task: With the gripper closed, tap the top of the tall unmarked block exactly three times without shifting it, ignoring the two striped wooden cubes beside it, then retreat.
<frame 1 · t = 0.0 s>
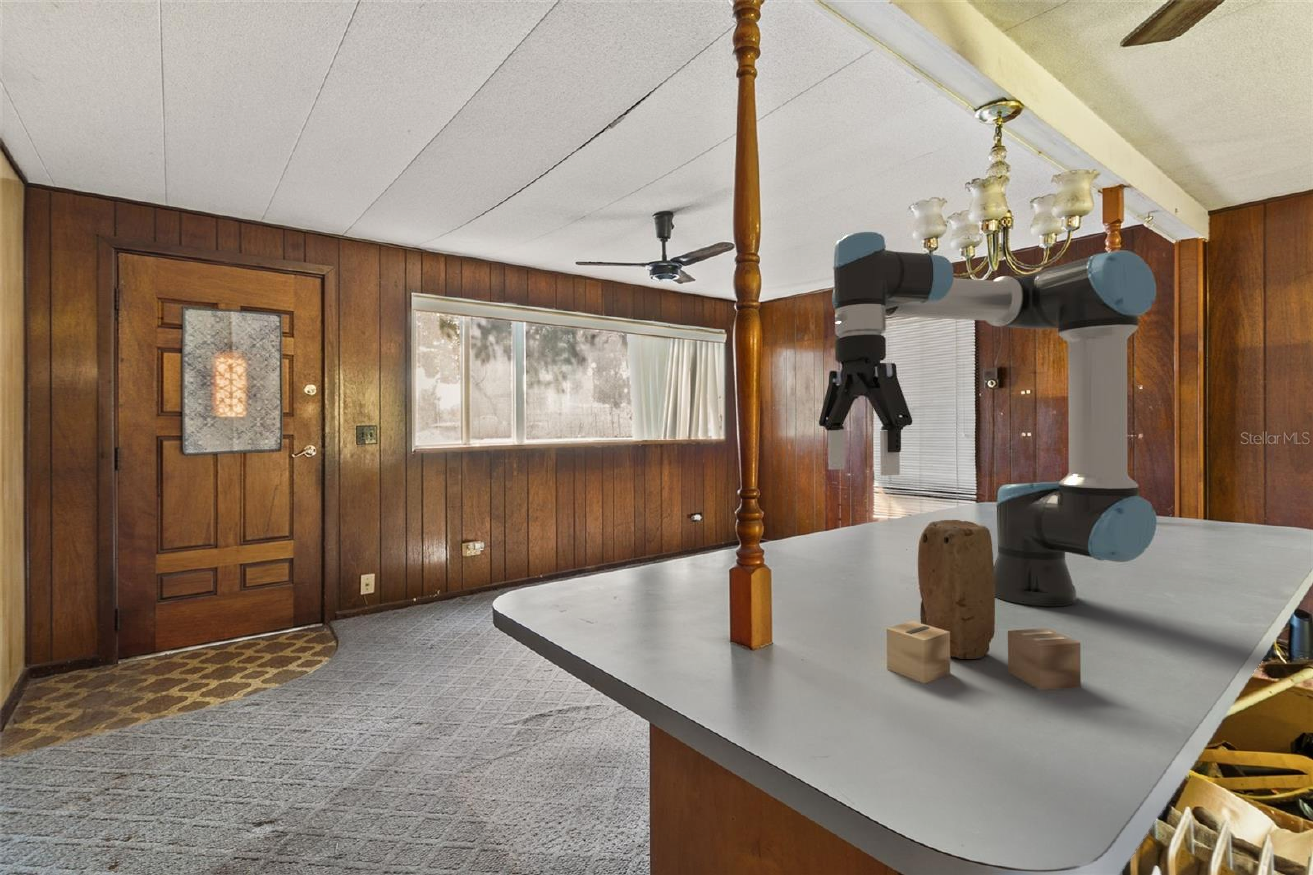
hand: (861, 472, 96), 28 cm above the table, fingers open, 13 cm apart
block: (954, 650, 96), on the table
cube one stripe: (918, 671, 88), on the table
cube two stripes: (1043, 679, 84), on the table
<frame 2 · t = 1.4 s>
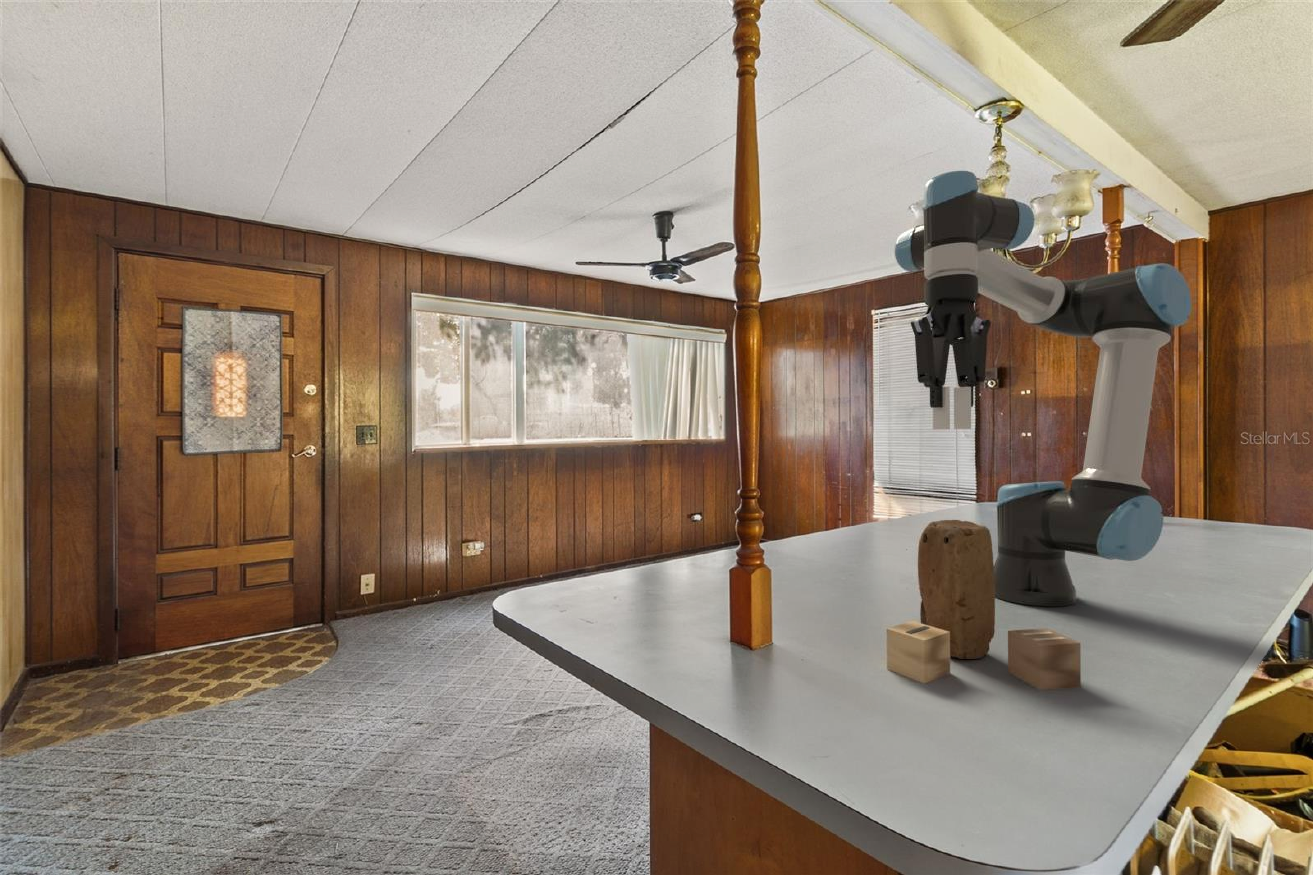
hand: (952, 428, 95), 35 cm above the table, fingers open, 3 cm apart
nothing on the table moved.
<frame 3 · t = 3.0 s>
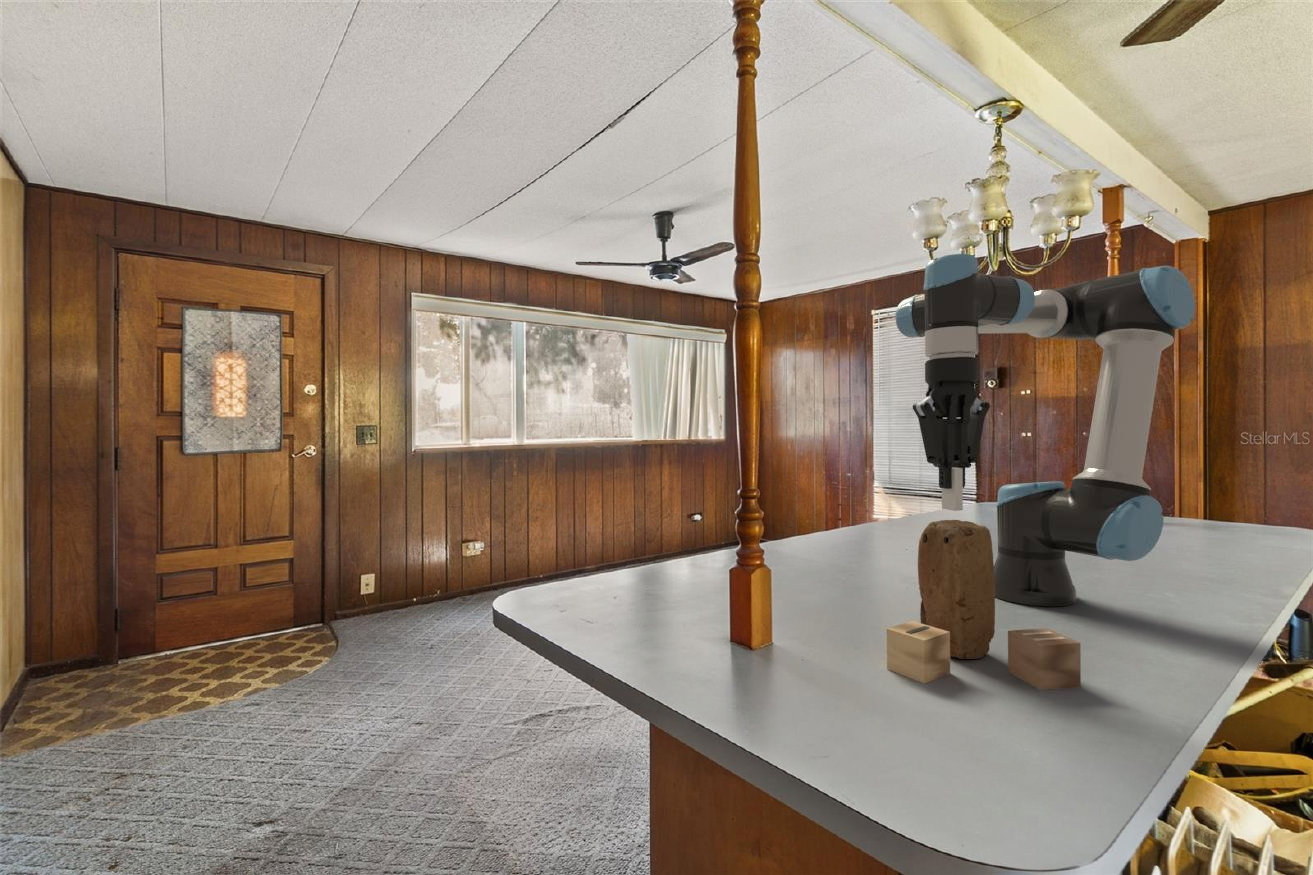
hand: (952, 509, 95), 22 cm above the table, fingers closed
nothing on the table moved.
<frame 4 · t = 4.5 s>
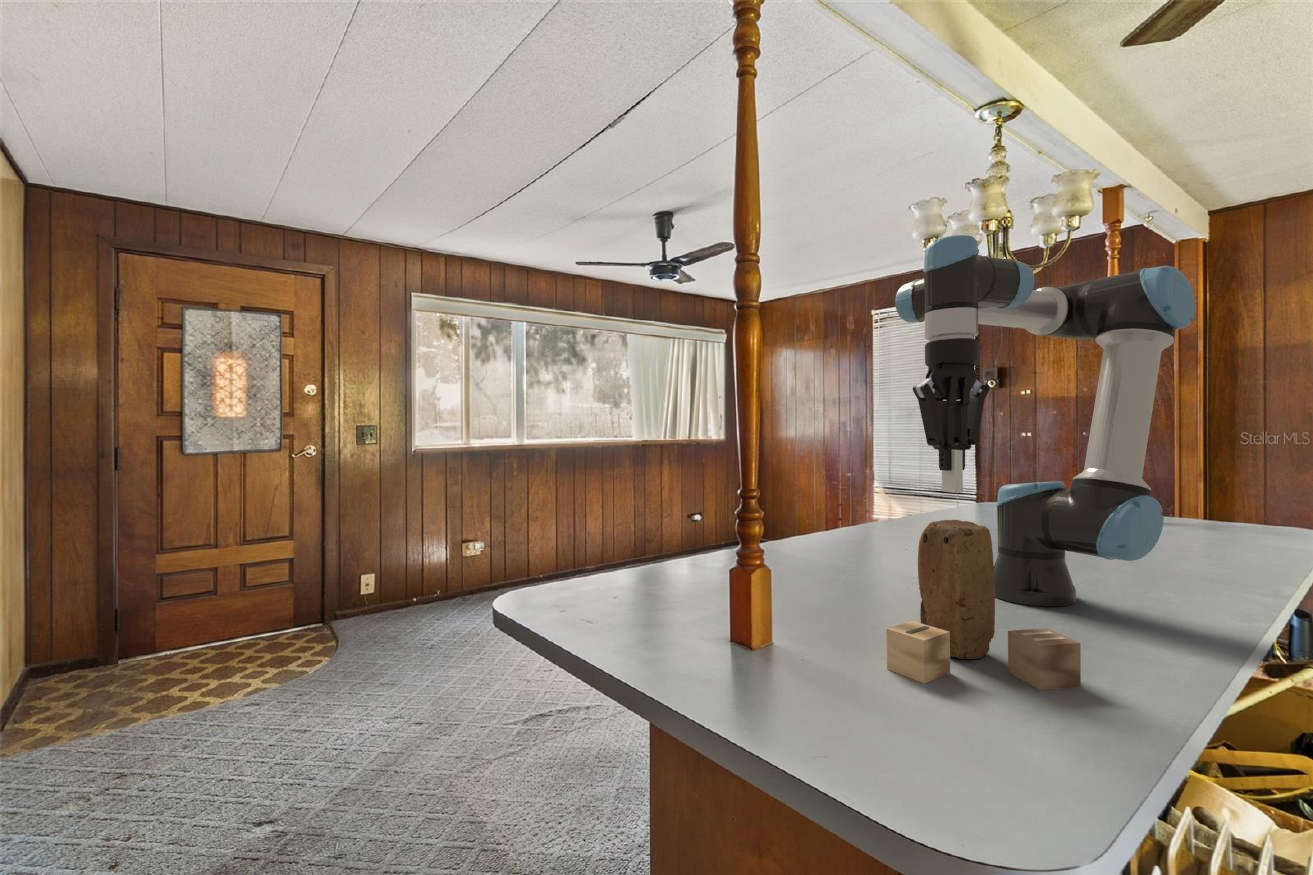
hand: (952, 491, 95), 25 cm above the table, fingers closed
nothing on the table moved.
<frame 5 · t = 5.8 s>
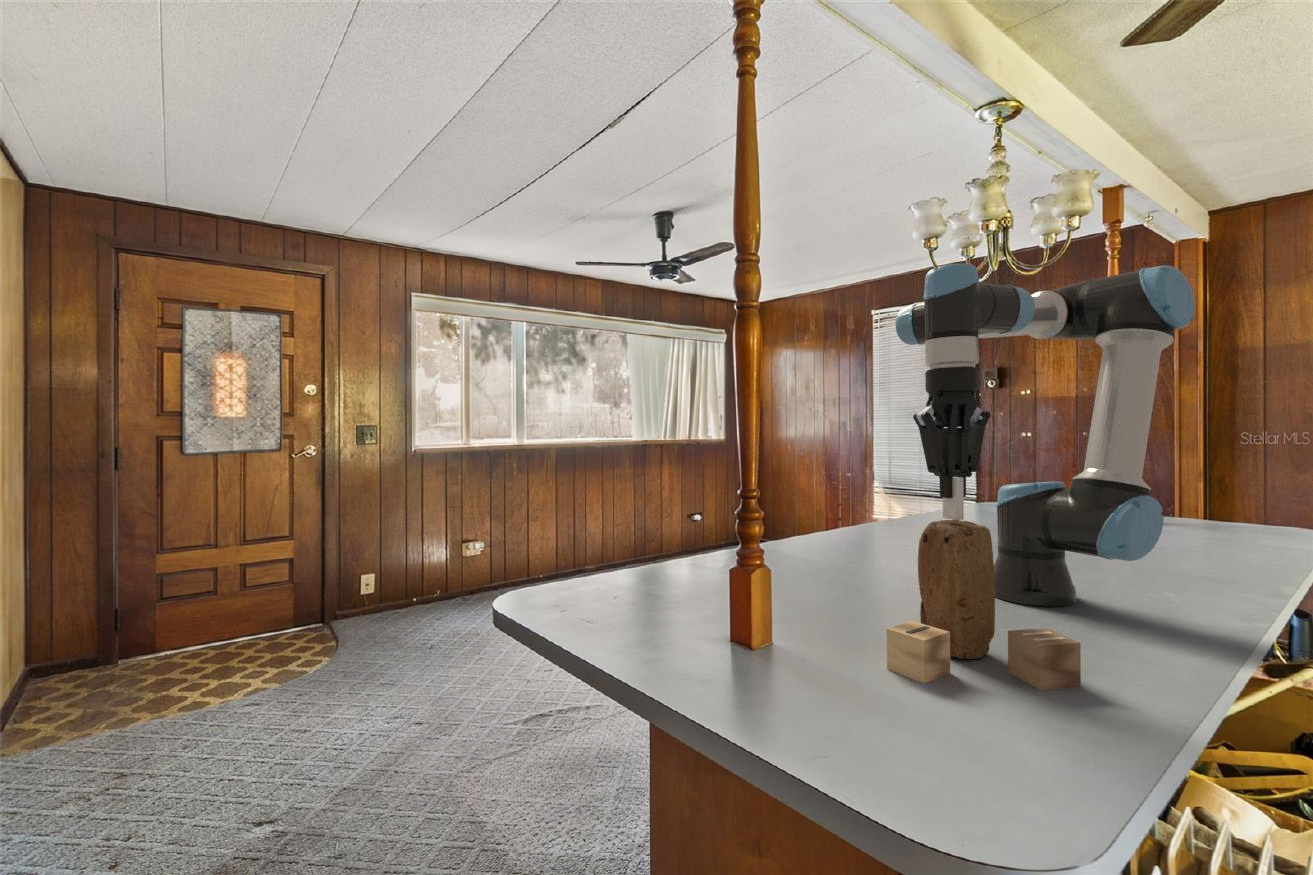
hand: (953, 518, 95), 21 cm above the table, fingers closed
nothing on the table moved.
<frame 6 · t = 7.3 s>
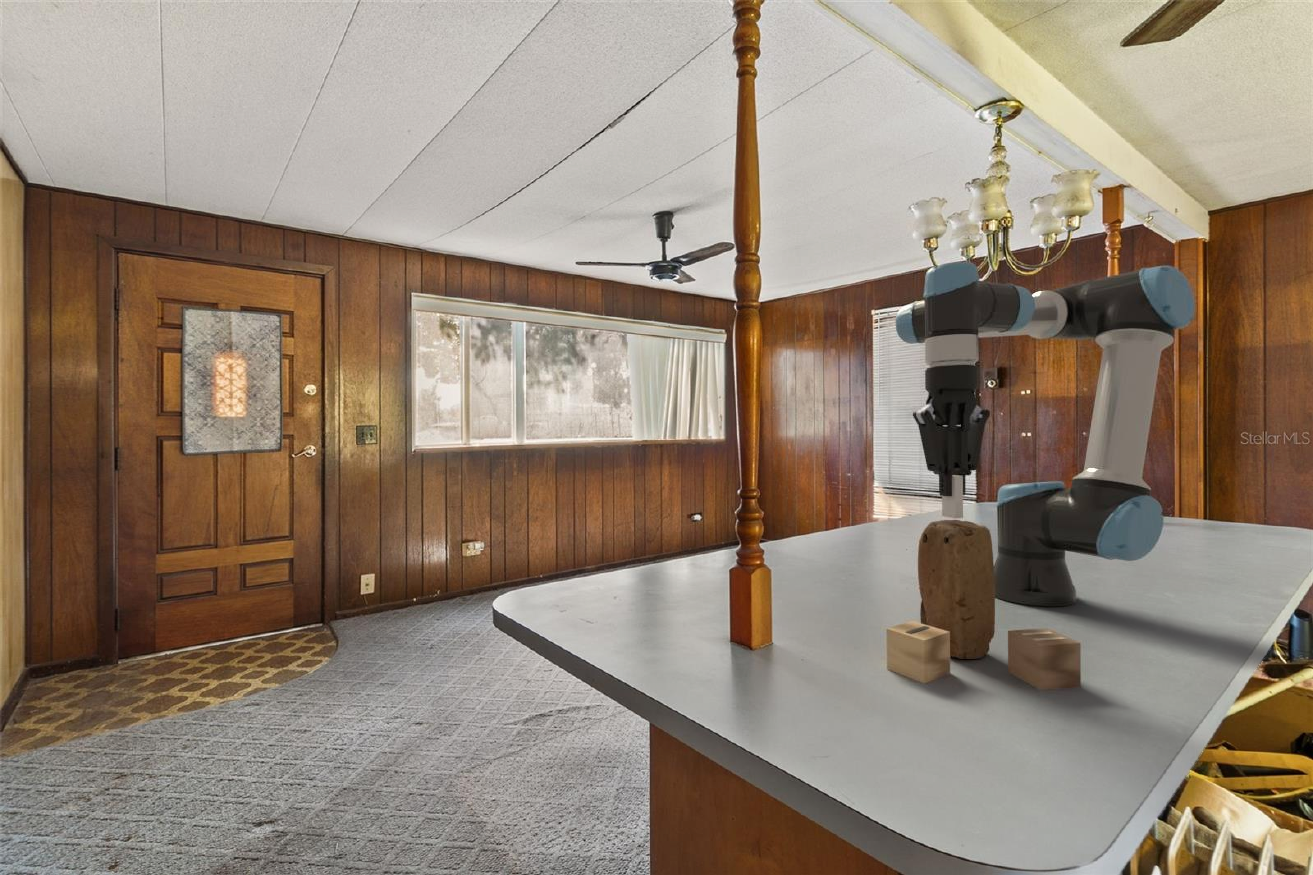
hand: (952, 516, 95), 21 cm above the table, fingers closed
nothing on the table moved.
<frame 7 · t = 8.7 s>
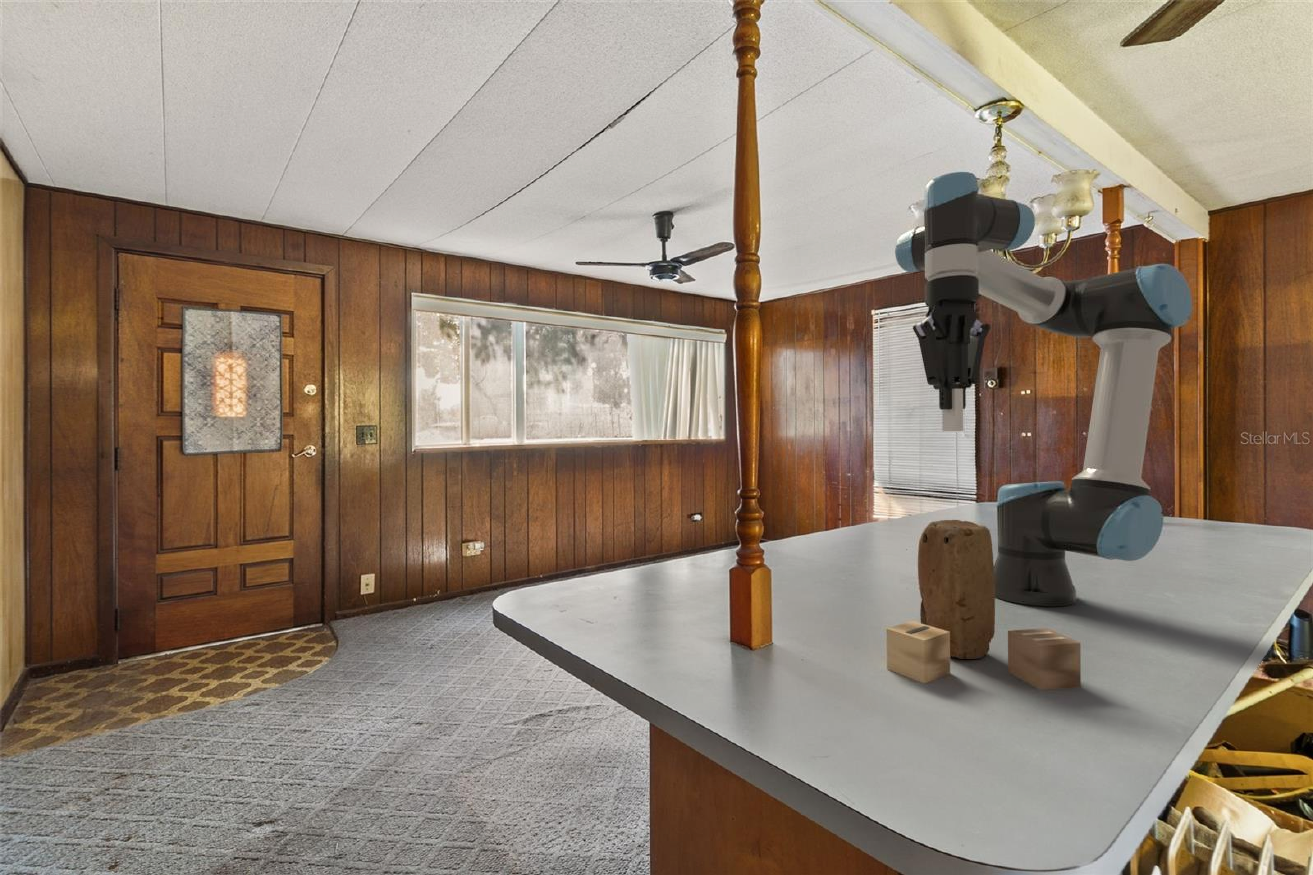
hand: (952, 430, 95), 34 cm above the table, fingers closed
nothing on the table moved.
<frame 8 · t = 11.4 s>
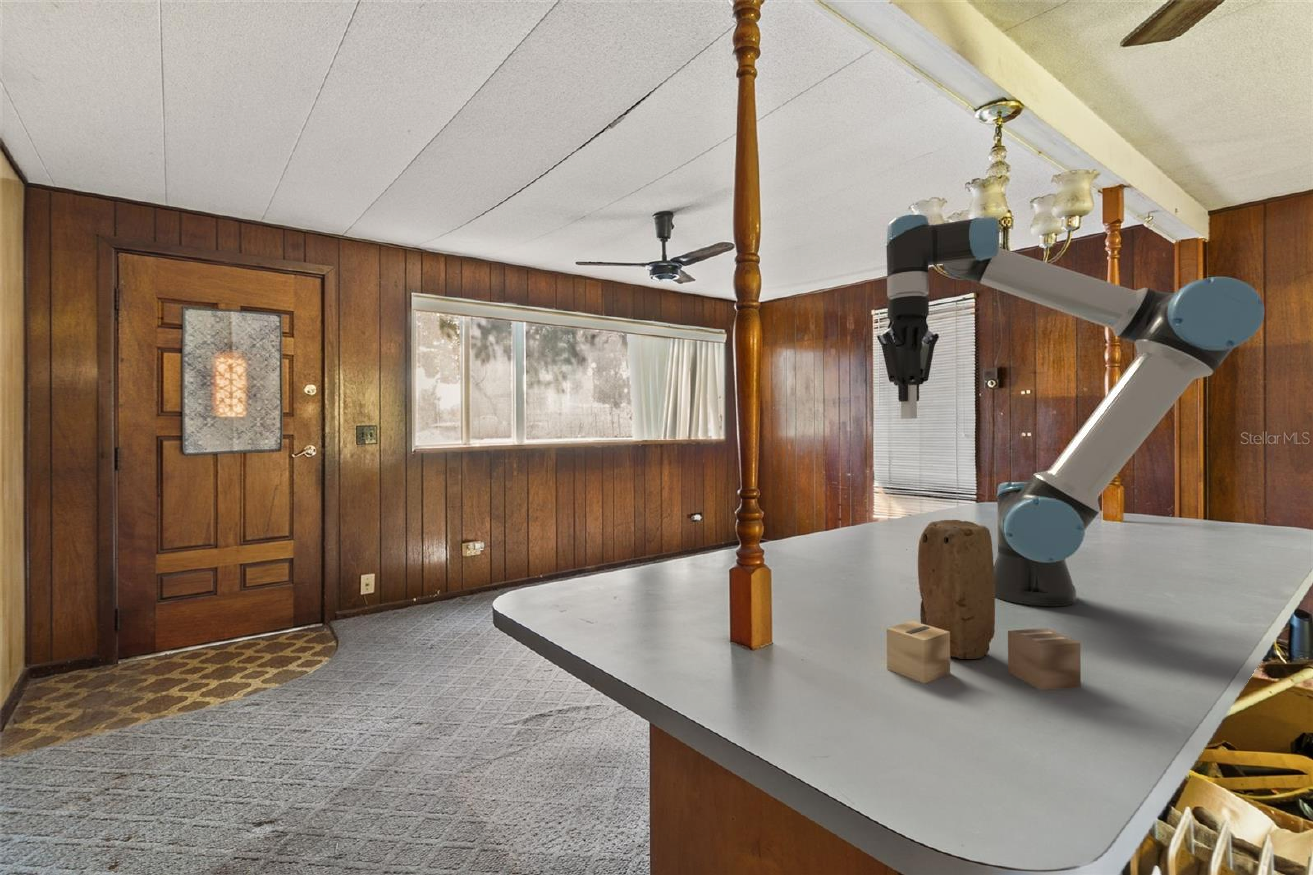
hand: (908, 418, 120), 36 cm above the table, fingers closed
nothing on the table moved.
at the end: block moved 0.2 cm from its start; block tilted 0°; cube one stripe moved 0.1 cm from its start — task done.
